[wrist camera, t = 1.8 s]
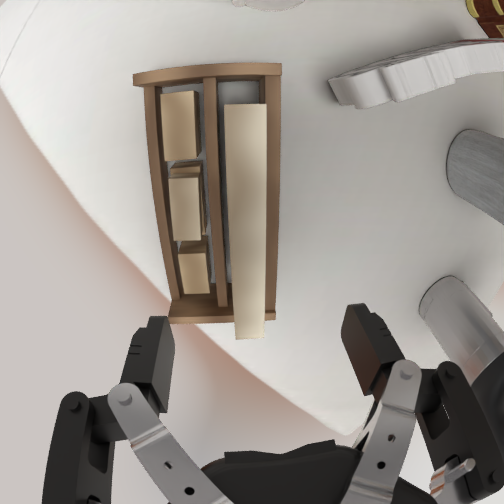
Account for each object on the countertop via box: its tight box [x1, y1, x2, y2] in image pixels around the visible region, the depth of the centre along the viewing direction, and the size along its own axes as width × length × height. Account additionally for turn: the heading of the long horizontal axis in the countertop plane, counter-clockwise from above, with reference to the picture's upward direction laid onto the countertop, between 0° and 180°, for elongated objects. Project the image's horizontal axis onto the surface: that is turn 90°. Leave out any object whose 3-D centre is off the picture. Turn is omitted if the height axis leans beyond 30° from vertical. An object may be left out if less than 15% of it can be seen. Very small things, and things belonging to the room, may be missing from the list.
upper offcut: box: [168, 172, 203, 241], centre depth 26 cm, size 3×6×2 cm, turn 178°
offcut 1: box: [160, 91, 202, 161], centre depth 23 cm, size 3×6×4 cm, turn 1°
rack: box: [133, 63, 282, 324], centre depth 26 cm, size 12×25×6 cm, turn 1°
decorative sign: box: [328, 38, 504, 109], centre depth 17 cm, size 23×3×15 cm, turn 119°
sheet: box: [224, 104, 267, 340], centre depth 24 cm, size 2×18×12 cm, turn 1°
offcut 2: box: [178, 236, 211, 294], centre depth 31 cm, size 3×5×4 cm, turn 0°
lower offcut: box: [170, 161, 207, 235], centre depth 28 cm, size 3×7×3 cm, turn 1°
